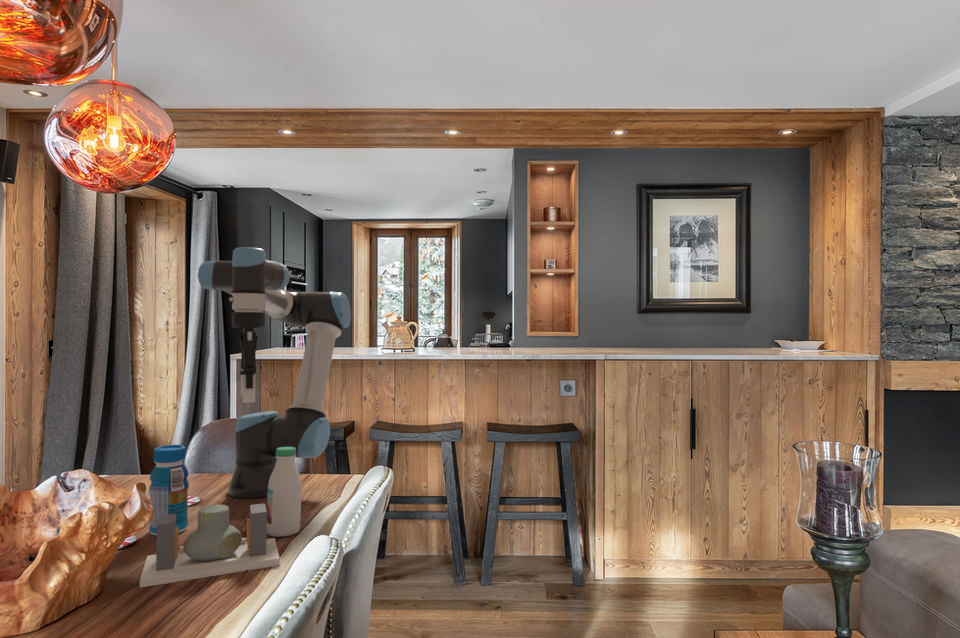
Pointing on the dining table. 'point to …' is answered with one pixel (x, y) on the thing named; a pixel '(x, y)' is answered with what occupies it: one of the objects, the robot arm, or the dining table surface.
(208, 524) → the air freshener
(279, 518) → the milk bottle
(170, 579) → the rail
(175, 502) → the beverage bottle
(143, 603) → the dining table surface
